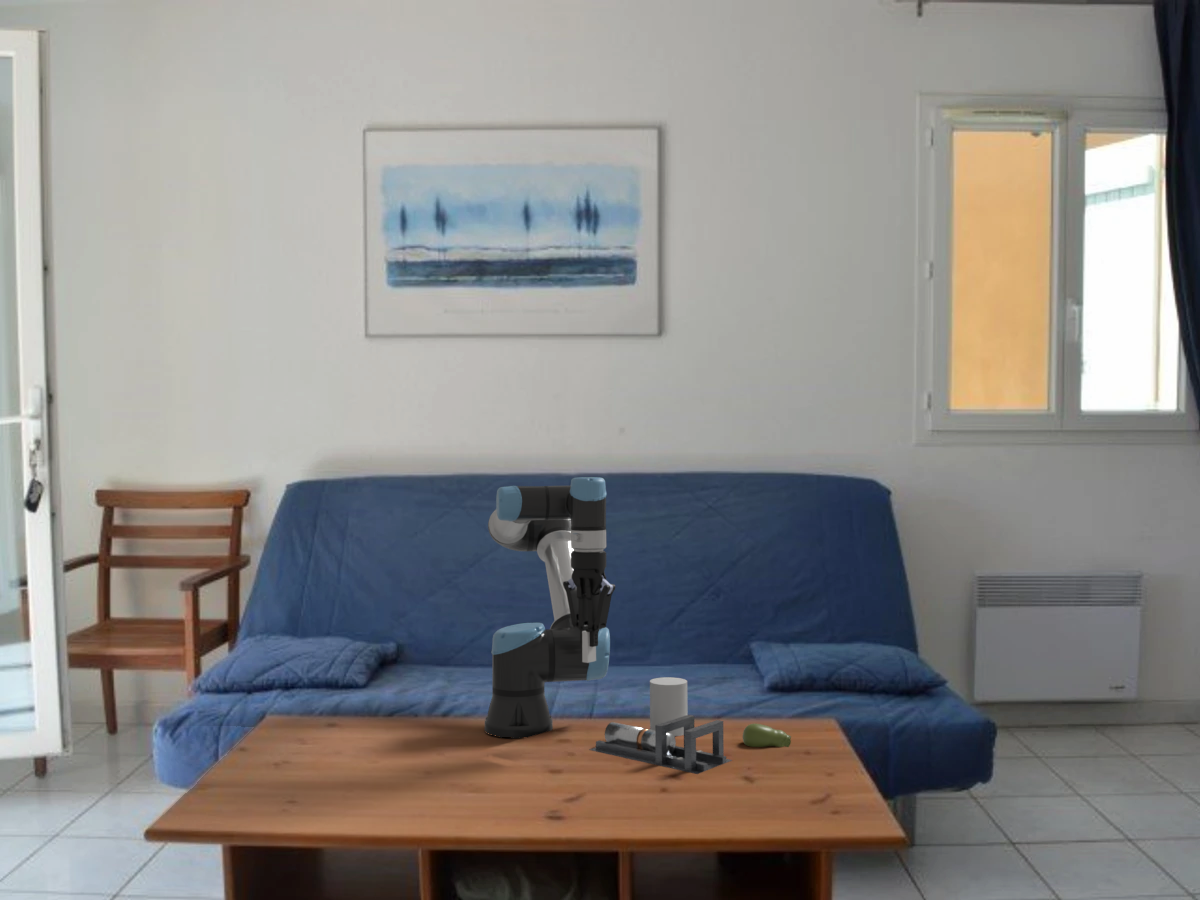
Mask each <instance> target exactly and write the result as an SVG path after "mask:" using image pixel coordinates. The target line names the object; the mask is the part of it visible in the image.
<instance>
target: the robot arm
mask: <svg viewBox="0 0 1200 900" xmlns="http://www.w3.org/2000/svg"><path fill="white" fill-rule="evenodd" d="M607 495H608V493H607V488H606V480H605V479H604V478H603V477H596V476H595V477H593V476H591V477H585V476H584V477H573V478H572V479H571V480H570V485H539V486H537V485H536V486H535V485H534V486H533V485H529V486H528V485H525V486H523V485H509V486H501V487H499V488H497V491H496V496H495V498H496V501H495V503H496V504H495V507H496V508H495V510H494V511H493V512H492V513H491V514H490V516H489V519H488V523H487V529H488V533H489V535H490V537H491V538H492V540H493V541H494V542H495V543H497V544H498V545H500V546H501V547H503V548H506V549H507V550H508V549H509V550H512V551H515V552H516V551H517V552H536V553H537V556H538V557H539V559H540V560H541V561H542V562H543V563H544V564H545V565H544V566H545V570H546V576H547V581H548V582H547V583H548V590H549V595H550V601H551V608H552V613H553V619H554V620H553V622H552V623H551V626H550V628H549V629H546V627H545V625H544V623H542V622H525V623H516V624H511V625H507V626H504V627H502V628H499V629H497V630H496V631H495V632H494V633H493V635H492V645H491V651H490V652H491V655H492V657H491V658H492V663H491V664H492V666H491V667H492V674H491V675H492V676H491V677H492V678H491V679H492V683H491V686H492V690H491V691H492V693H491V694H492V696H491V700H490V702H489V707H488V710H487V716H486V717H485V719H484V732H485V731H486V732H487V733H489V734H492V735H496V736H500V737H499V738H502V737H512V738H511V739H523V738H522V737H527V738H531V737H534V736H537V735H541V734H544V733H548V732H551V731H553V730H552V729H553V727H554V726H553V725H554V724H553V717H552V715H550V709H549V706H548V702H547V698H546V695H545V691H546V690H545V683H551V682H553V683H554V682H555V683H556V682H557V683H558V682H559V683H560V682H575V681H577V682H578V681H586V682H590V681H595V680H602V679H604V678H605V677H606V676H607V673H608V670H609V662H610V653H611V651H610V650H611V636H610V635H611V634H610V629H609V628H608V627H607V624H608V623H607V622H608V618H609V617H608V616H609V612H610V606H611V600H612V595H613V593H614V592H615V590H616V585H615V584H614V583H610V582H609V581H608V580H607V576H606V573H605V570H606V568H607V552H606V551H605V549H606V548H607V525H606V524H607ZM486 732H485V733H486ZM487 733H486V734H487ZM489 734H488V735H489Z"/></svg>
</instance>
